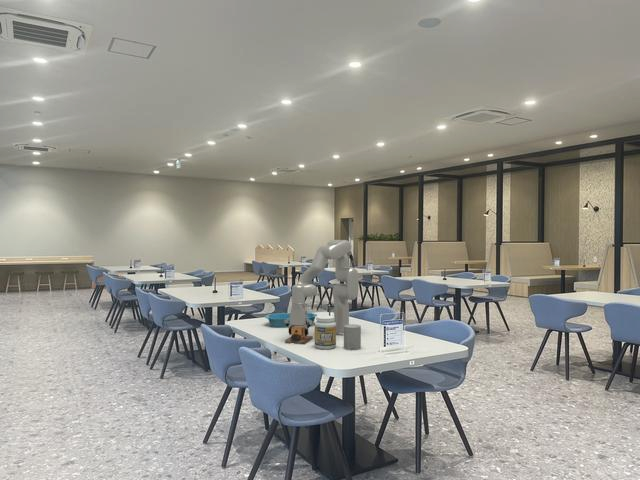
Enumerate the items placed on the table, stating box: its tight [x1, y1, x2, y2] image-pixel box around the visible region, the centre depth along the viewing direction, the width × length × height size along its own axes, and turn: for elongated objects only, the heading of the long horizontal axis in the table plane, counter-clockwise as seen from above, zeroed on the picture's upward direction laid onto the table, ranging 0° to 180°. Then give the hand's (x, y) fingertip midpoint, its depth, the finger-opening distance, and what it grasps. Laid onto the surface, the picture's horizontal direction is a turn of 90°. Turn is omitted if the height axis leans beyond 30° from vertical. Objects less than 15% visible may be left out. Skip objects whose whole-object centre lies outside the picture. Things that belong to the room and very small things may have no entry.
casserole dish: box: [264, 311, 318, 328], centre depth 333 cm, size 37×22×7 cm, turn 101°
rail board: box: [284, 334, 314, 345], centre depth 282 cm, size 12×16×4 cm
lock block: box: [290, 326, 306, 341], centre depth 280 cm, size 6×8×7 cm
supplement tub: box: [313, 315, 337, 350], centre depth 266 cm, size 12×12×17 cm
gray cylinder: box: [343, 323, 362, 351], centre depth 264 cm, size 10×10×12 cm
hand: (298, 334), depth 280 cm, fingers open, 9 cm apart
